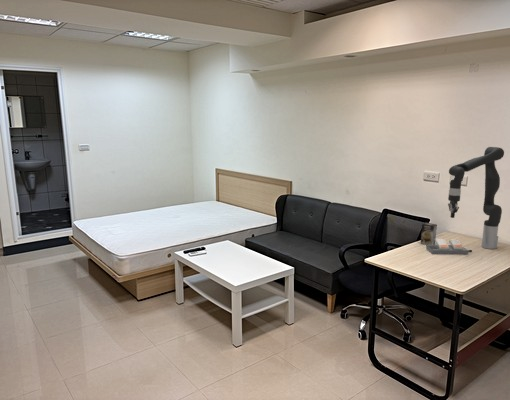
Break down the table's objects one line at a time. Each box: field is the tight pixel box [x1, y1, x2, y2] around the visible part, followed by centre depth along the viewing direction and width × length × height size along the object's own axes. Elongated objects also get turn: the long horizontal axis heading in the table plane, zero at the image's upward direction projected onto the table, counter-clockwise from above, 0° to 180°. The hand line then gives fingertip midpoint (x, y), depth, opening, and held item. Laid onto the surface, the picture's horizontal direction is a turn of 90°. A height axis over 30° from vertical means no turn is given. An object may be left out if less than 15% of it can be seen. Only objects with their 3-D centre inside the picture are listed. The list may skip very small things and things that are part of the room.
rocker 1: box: [435, 238, 449, 250], centre depth 282 cm, size 6×10×2 cm, turn 176°
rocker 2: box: [448, 239, 464, 249], centre depth 281 cm, size 6×10×2 cm, turn 176°
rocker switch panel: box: [425, 244, 473, 256], centre depth 282 cm, size 30×12×4 cm, turn 86°
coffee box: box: [420, 222, 438, 246], centre depth 299 cm, size 9×6×16 cm
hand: (452, 217), depth 280 cm, fingers closed
